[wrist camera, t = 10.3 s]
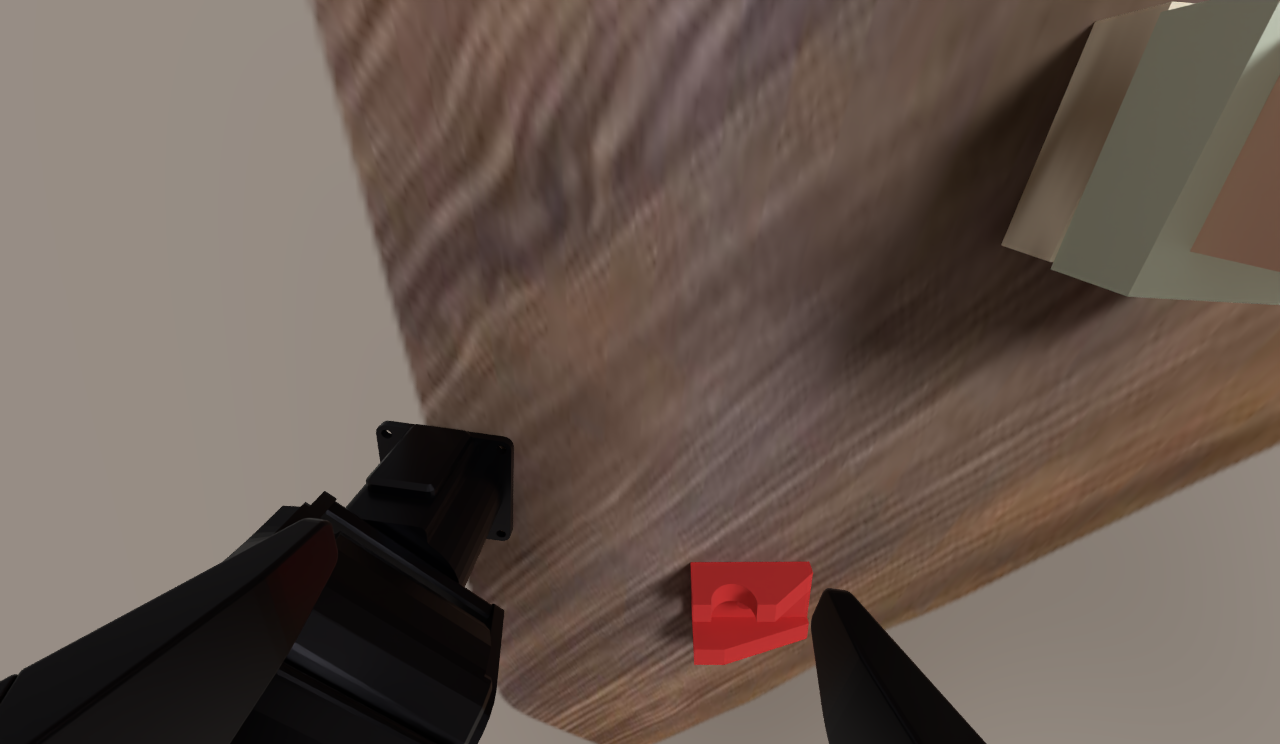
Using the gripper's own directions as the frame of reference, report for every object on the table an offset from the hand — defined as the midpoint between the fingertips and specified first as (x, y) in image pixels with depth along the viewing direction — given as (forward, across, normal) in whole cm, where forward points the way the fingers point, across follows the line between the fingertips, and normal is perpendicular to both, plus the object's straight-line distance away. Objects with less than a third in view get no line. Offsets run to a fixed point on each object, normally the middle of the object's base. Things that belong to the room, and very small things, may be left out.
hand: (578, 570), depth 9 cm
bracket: (+14, -9, +15) cm, 22 cm away
